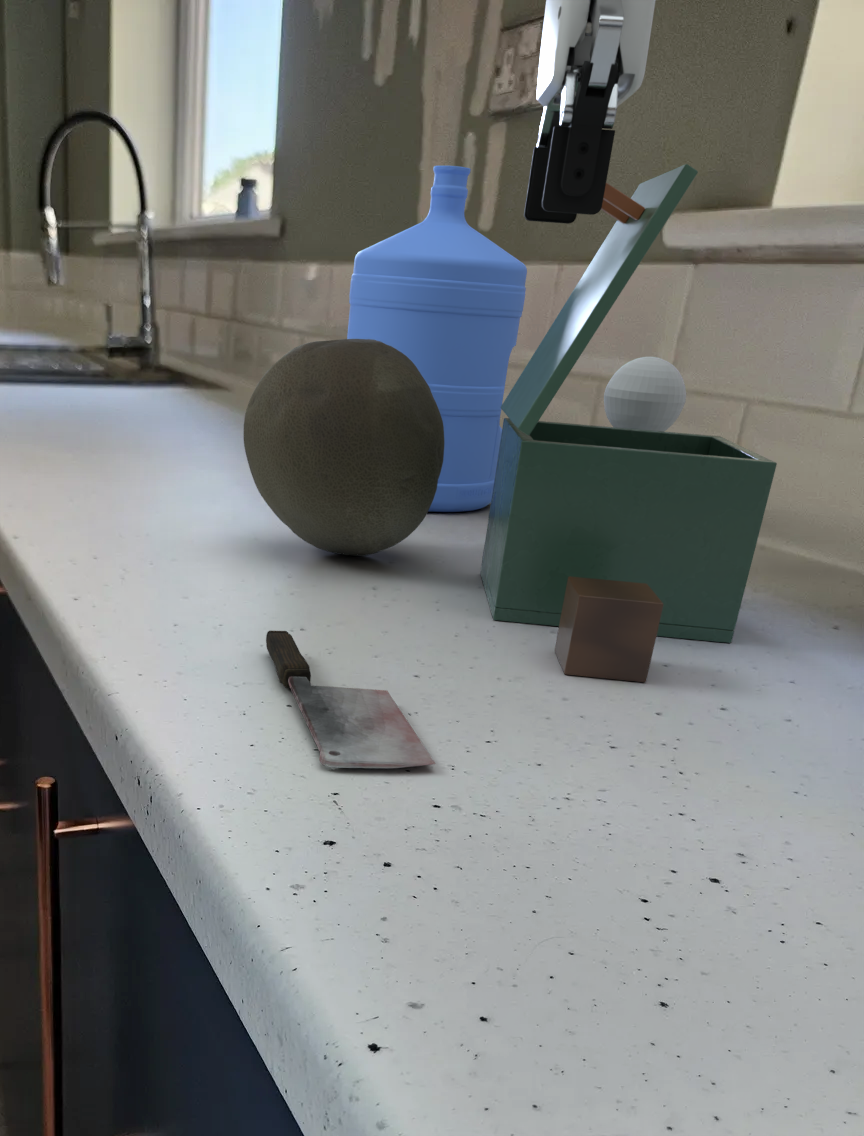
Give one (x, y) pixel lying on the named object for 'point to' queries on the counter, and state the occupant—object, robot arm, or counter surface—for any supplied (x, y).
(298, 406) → the cantaloupe
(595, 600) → the tea block
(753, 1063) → the counter surface
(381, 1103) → the counter surface
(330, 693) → the cleaver
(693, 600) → the green box
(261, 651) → the counter surface
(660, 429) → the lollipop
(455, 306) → the water jug
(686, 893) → the counter surface
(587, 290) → the lid
